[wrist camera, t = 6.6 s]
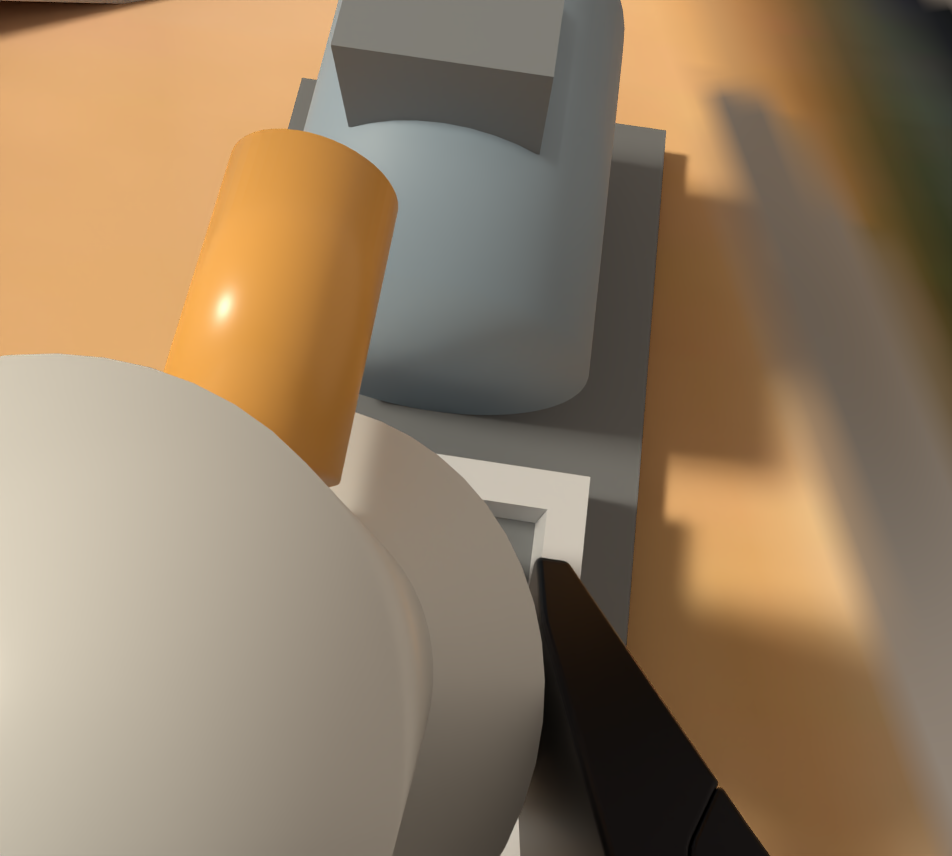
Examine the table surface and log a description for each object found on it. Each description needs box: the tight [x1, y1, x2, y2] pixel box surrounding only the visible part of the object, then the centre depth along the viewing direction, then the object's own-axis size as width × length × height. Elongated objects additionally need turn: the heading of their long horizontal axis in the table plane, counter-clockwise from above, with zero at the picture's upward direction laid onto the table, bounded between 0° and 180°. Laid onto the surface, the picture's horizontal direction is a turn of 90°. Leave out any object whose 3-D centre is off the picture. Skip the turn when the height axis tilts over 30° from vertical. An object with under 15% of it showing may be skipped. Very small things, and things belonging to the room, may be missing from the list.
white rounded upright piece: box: [0, 129, 545, 856], centre depth 9 cm, size 7×5×12 cm
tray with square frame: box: [288, 0, 666, 856], centre depth 15 cm, size 24×13×10 cm, turn 172°
